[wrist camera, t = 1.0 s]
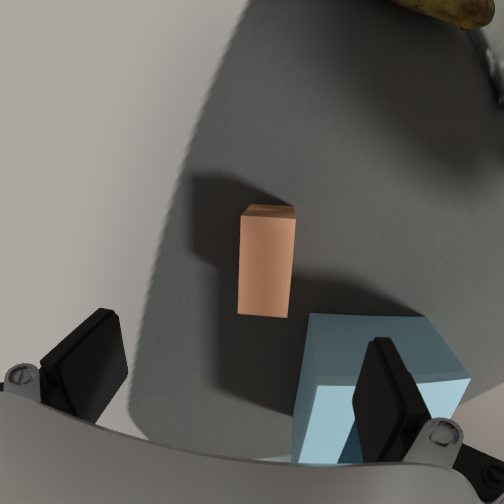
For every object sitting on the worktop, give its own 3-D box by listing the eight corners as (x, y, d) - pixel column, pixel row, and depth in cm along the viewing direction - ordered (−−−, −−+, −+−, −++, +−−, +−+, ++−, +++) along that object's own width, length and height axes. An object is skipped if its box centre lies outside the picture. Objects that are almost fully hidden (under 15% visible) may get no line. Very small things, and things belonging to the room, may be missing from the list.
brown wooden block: (293, 206, 25) (295, 219, 19) (287, 285, 27) (287, 317, 21) (251, 203, 26) (240, 215, 20) (248, 282, 28) (237, 313, 22)
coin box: (425, 316, 26) (471, 378, 17) (389, 416, 30) (408, 481, 21) (309, 312, 28) (317, 385, 18) (292, 417, 32) (290, 488, 22)
